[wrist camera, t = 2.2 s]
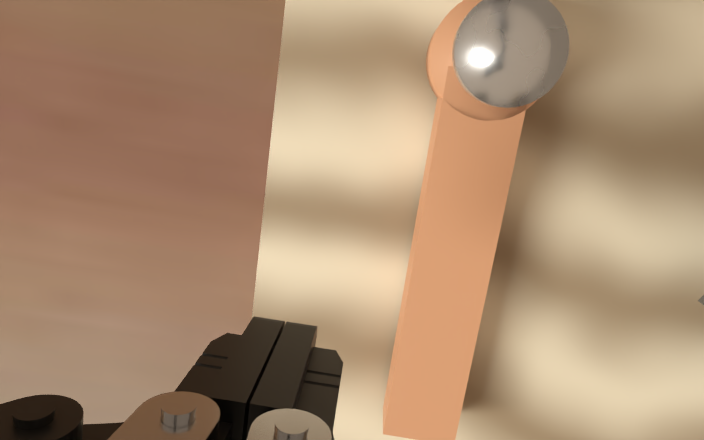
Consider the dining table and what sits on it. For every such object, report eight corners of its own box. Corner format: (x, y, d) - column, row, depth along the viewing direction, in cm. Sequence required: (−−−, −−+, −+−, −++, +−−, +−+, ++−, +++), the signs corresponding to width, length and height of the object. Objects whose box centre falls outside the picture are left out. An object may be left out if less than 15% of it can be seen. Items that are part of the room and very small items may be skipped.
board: (301, -95, 21) (296, -105, 20) (1021, 4, 20) (1053, -1, 19) (240, 466, 27) (234, 479, 26) (795, 558, 26) (810, 576, 25)
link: (436, -7, 20) (442, -19, 18) (552, 9, 20) (570, -1, 18) (367, 404, 24) (366, 431, 22) (463, 420, 24) (470, 448, 22)
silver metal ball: (454, -2, 18) (466, -19, 15) (553, 12, 18) (581, -3, 15) (436, 99, 19) (445, 99, 16) (531, 113, 19) (554, 115, 16)
